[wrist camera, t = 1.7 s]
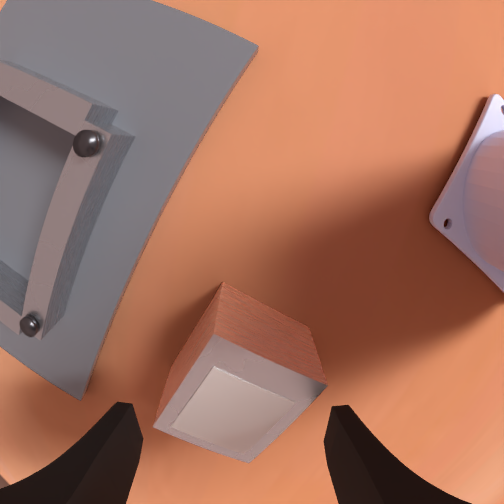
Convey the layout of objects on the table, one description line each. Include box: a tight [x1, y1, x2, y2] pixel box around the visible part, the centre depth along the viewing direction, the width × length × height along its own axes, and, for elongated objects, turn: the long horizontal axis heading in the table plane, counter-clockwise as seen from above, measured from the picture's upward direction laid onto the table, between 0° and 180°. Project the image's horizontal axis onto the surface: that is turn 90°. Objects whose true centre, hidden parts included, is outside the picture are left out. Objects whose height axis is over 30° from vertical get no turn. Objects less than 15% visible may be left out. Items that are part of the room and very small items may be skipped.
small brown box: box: [153, 282, 328, 463], centre depth 13 cm, size 5×6×4 cm
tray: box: [0, 0, 258, 401], centre depth 11 cm, size 14×20×4 cm
